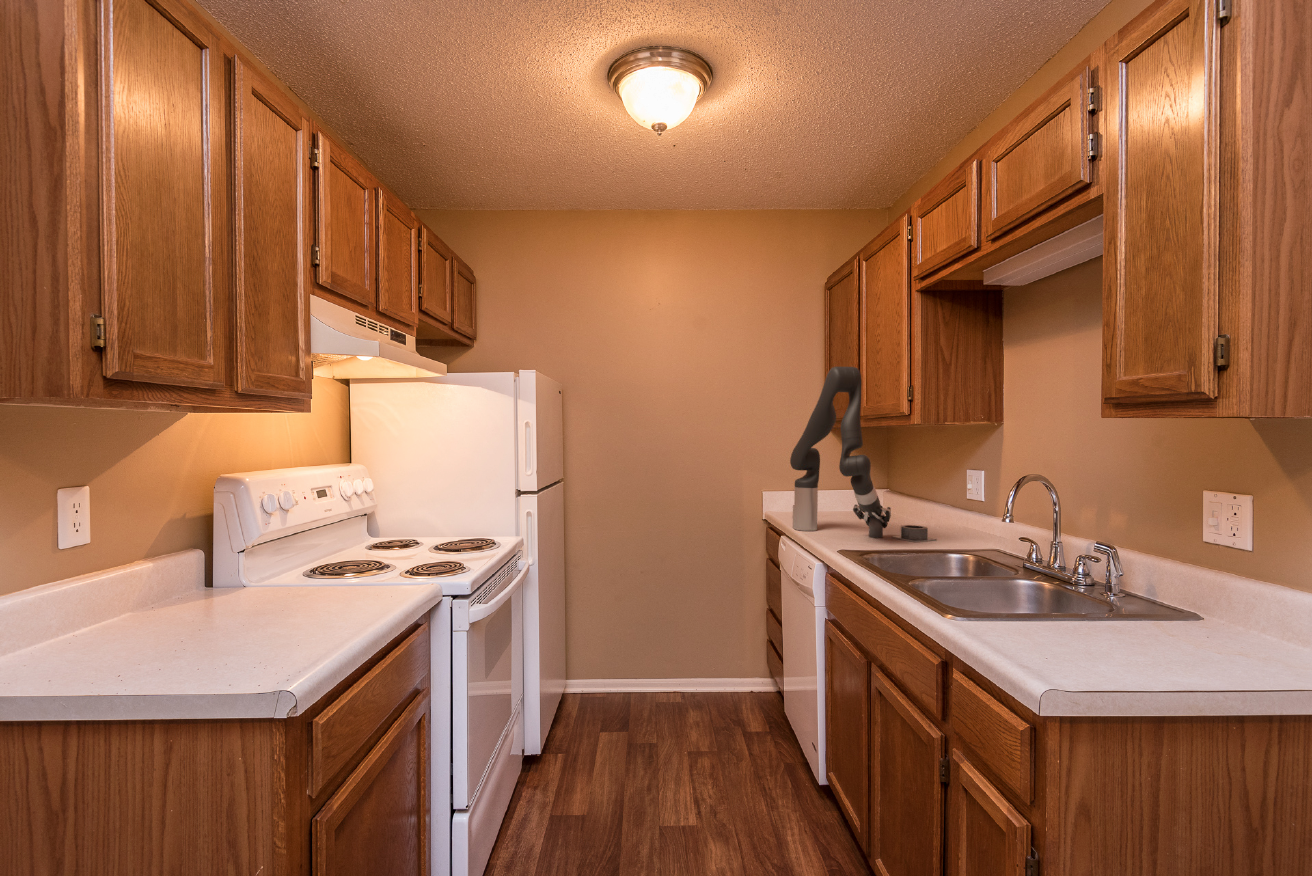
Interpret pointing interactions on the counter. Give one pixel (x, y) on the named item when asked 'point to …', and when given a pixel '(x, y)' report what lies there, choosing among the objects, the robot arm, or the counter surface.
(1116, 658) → the counter surface
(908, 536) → the hex nut base plate
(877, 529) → the grey round peg
